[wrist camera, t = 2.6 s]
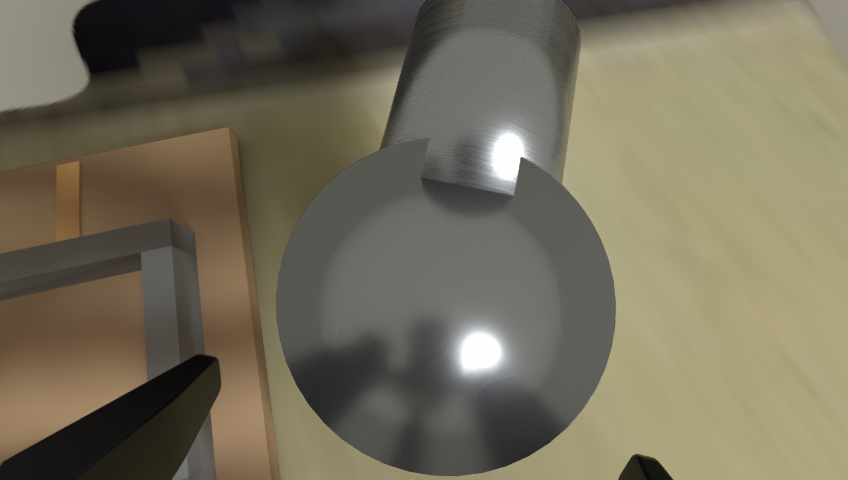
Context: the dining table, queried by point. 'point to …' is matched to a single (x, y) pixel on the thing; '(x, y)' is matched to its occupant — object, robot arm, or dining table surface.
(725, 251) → the dining table surface
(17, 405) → the base
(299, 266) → the duct elbow
